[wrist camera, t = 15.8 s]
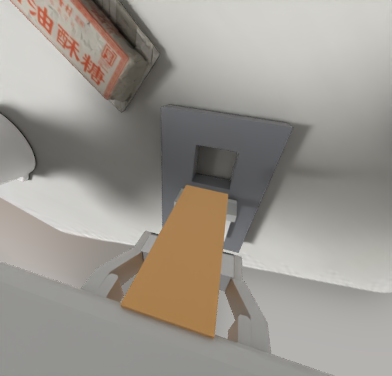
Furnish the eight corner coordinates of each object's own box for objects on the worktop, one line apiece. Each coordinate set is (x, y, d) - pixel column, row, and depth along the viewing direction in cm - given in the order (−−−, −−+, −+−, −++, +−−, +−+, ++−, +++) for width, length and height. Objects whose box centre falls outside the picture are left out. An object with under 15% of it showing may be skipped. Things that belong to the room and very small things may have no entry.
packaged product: (145, 45, 16) (104, 116, 21) (163, 54, 20) (125, 112, 25) (-48, -193, 11) (-40, -26, 16) (27, -118, 15) (15, -3, 20)
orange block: (183, 215, 17) (131, 334, 9) (186, 184, 15) (120, 304, 7) (219, 224, 16) (200, 360, 8) (228, 194, 14) (214, 336, 6)
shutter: (178, 226, 30) (172, 241, 27) (181, 188, 25) (174, 201, 22) (224, 238, 29) (223, 254, 26) (236, 200, 24) (236, 216, 21)
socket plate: (167, 222, 36) (162, 232, 33) (169, 104, 22) (161, 106, 20) (238, 240, 34) (238, 252, 31) (286, 122, 20) (293, 127, 18)
